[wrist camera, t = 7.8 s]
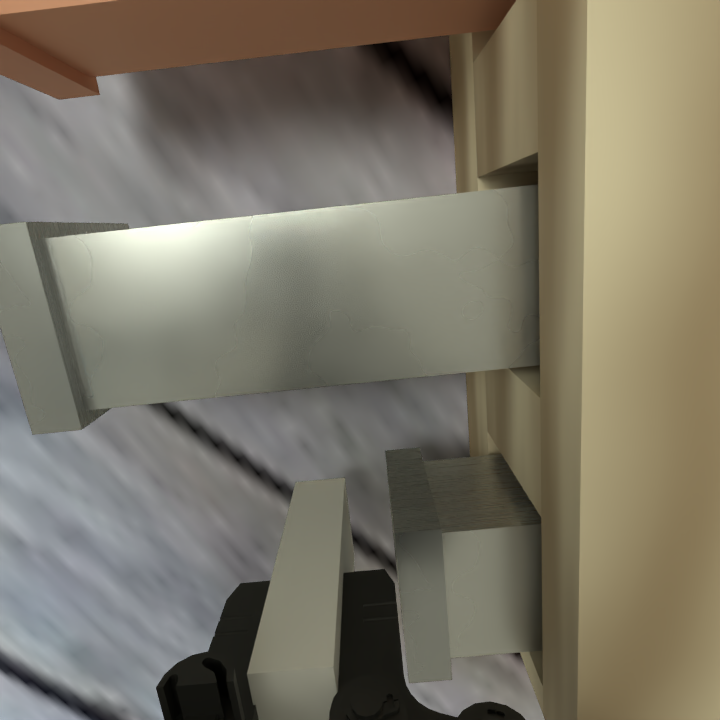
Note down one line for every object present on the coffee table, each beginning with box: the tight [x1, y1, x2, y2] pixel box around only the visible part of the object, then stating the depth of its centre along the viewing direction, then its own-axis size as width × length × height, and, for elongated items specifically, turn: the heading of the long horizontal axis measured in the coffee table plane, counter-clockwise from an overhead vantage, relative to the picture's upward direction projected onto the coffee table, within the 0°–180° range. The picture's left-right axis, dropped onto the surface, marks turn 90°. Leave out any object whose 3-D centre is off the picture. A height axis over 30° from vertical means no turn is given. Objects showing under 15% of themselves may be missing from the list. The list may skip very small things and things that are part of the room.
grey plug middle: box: [0, 185, 540, 435], centre depth 11 cm, size 17×4×4 cm, turn 96°
